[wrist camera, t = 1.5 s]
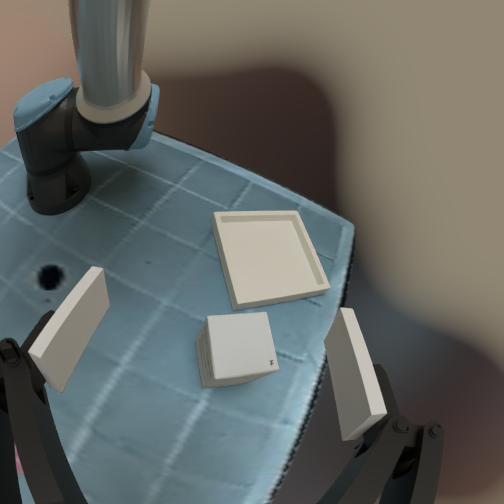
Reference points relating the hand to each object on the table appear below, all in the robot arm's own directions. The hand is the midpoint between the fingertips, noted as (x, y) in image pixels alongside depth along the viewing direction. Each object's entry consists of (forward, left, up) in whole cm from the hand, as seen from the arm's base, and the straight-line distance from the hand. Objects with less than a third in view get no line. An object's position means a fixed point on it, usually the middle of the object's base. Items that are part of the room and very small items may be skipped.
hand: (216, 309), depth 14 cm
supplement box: (-1, +6, -27) cm, 28 cm away
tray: (-18, +19, -27) cm, 37 cm away
